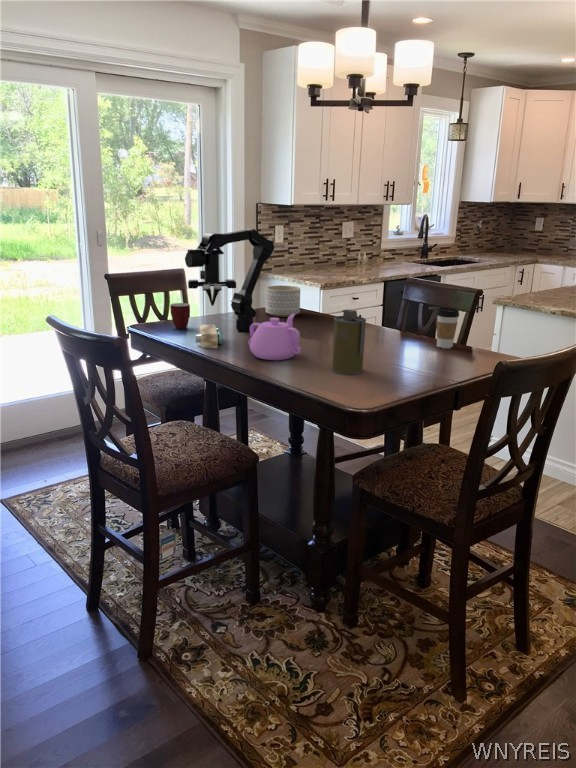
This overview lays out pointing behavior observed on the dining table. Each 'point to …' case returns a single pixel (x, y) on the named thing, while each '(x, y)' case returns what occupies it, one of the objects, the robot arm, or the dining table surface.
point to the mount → (208, 336)
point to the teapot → (274, 339)
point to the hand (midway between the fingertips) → (212, 305)
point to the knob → (198, 338)
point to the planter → (282, 300)
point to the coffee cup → (446, 326)
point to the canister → (348, 343)
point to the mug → (180, 314)
